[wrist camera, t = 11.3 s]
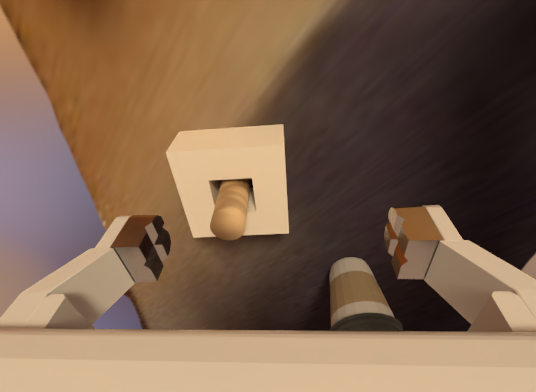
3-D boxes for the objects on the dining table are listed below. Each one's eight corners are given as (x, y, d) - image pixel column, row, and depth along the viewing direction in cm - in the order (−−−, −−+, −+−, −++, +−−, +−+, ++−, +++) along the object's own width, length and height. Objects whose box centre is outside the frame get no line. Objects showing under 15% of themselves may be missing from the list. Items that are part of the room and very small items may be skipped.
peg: (250, 159, 41) (242, 213, 32) (253, 182, 44) (247, 239, 34) (222, 161, 42) (206, 215, 32) (227, 184, 44) (213, 241, 34)
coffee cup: (375, 286, 58) (401, 366, 46) (318, 288, 59) (329, 367, 47) (383, 247, 51) (417, 328, 39) (319, 250, 52) (332, 331, 40)
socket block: (283, 124, 38) (284, 144, 33) (287, 207, 46) (288, 233, 42) (179, 131, 39) (165, 152, 34) (201, 211, 47) (193, 237, 43)
